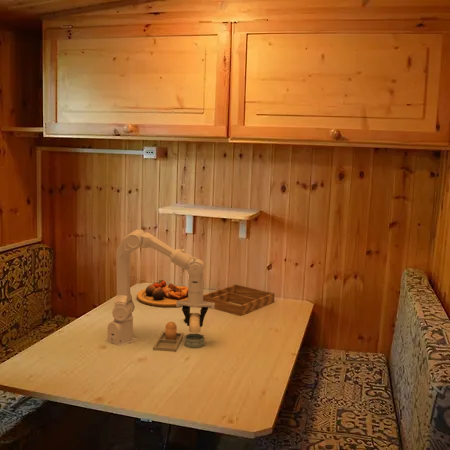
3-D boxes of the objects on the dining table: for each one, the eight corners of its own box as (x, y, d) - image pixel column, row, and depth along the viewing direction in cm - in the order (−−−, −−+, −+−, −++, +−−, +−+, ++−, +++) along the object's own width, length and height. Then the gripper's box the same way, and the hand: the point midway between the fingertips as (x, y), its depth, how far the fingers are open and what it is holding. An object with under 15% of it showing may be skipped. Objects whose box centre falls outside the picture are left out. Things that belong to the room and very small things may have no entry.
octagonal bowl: (195, 351, 196) (195, 342, 196) (180, 346, 201) (180, 337, 200) (208, 345, 202) (208, 336, 202) (193, 340, 207) (193, 332, 206)
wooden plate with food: (212, 296, 268) (213, 281, 267) (176, 313, 241) (176, 295, 239) (162, 286, 284) (163, 271, 282) (123, 300, 257) (123, 284, 255)
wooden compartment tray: (240, 316, 238) (241, 306, 237) (200, 305, 252) (200, 296, 251) (274, 302, 261) (274, 293, 260) (235, 292, 275) (235, 284, 274)
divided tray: (175, 352, 194) (175, 348, 194) (152, 351, 195) (152, 347, 194) (183, 337, 210) (183, 333, 210) (162, 335, 211) (162, 331, 210)
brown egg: (171, 341, 203) (171, 324, 202) (162, 339, 206) (163, 322, 205) (178, 338, 206) (179, 321, 205) (170, 336, 209) (170, 319, 208)
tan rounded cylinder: (195, 333, 197) (195, 315, 196) (186, 330, 200) (187, 313, 199) (202, 330, 201) (203, 313, 200) (194, 327, 203) (194, 310, 202)
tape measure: (187, 319, 231) (187, 311, 231) (202, 321, 230) (202, 312, 230) (183, 324, 225) (183, 316, 224) (199, 326, 223) (199, 317, 223)
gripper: (216, 289, 201) (214, 323, 203) (178, 287, 203) (178, 320, 205) (213, 294, 194) (212, 329, 196) (175, 292, 196) (174, 326, 198)
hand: (194, 325), depth 200 cm, fingers closed on tan rounded cylinder, 4 cm apart
